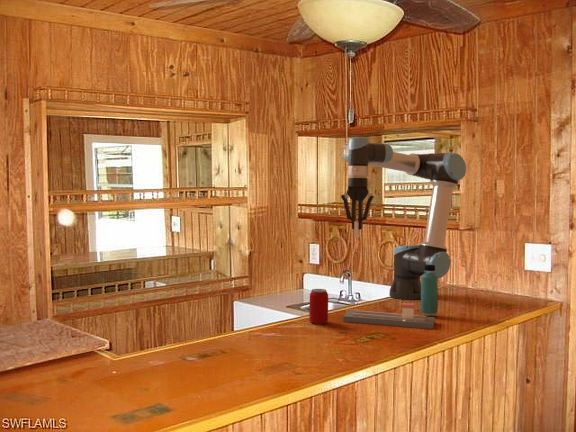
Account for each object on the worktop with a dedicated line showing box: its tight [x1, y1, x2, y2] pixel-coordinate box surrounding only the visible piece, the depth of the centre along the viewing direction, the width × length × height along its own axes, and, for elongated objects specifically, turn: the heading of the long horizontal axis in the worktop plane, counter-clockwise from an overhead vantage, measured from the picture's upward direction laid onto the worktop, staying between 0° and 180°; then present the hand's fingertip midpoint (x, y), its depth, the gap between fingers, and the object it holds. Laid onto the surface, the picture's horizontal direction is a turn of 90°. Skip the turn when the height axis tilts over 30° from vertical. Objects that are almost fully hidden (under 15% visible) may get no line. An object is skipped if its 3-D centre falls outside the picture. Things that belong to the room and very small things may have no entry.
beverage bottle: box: [420, 265, 439, 315], centre depth 234 cm, size 6×7×20 cm
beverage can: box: [308, 288, 329, 325], centre depth 222 cm, size 7×7×12 cm
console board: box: [342, 310, 436, 330], centre depth 224 cm, size 10×32×3 cm, turn 72°
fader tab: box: [401, 302, 416, 318], centre depth 222 cm, size 3×4×5 cm
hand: (356, 237), depth 239 cm, fingers closed
